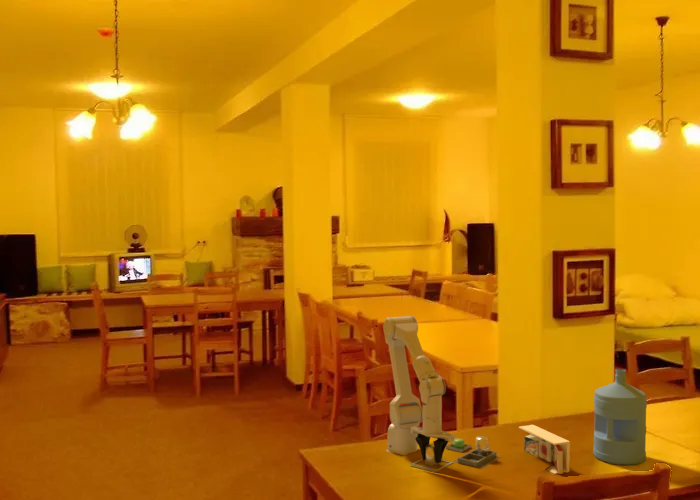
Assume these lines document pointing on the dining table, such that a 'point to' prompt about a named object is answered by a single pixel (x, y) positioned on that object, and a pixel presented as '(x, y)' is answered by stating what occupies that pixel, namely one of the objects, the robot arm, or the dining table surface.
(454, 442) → the button
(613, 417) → the water jug
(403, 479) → the dining table surface
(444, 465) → the tote tray
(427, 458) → the cylinder
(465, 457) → the grey pocketed tray
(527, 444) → the cigarette display
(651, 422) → the dining table surface
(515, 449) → the dining table surface
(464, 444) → the button housing
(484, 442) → the seated billet
